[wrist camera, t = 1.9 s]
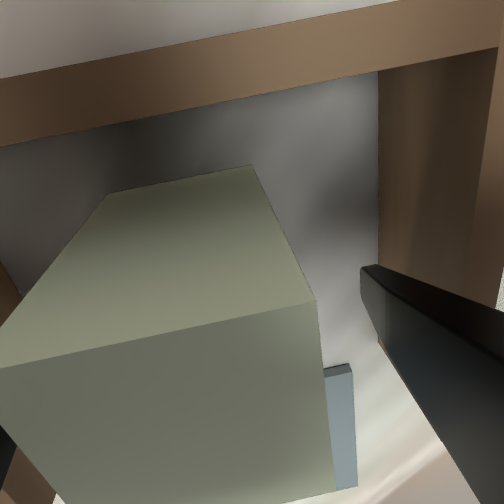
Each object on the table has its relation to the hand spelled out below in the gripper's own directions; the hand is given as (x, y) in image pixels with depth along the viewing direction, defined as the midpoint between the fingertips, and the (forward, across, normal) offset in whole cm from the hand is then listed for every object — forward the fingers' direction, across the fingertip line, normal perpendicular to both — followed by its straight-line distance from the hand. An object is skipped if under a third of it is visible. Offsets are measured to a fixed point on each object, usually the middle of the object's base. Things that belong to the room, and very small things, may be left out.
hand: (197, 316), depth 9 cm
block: (+4, 0, 0) cm, 4 cm away
